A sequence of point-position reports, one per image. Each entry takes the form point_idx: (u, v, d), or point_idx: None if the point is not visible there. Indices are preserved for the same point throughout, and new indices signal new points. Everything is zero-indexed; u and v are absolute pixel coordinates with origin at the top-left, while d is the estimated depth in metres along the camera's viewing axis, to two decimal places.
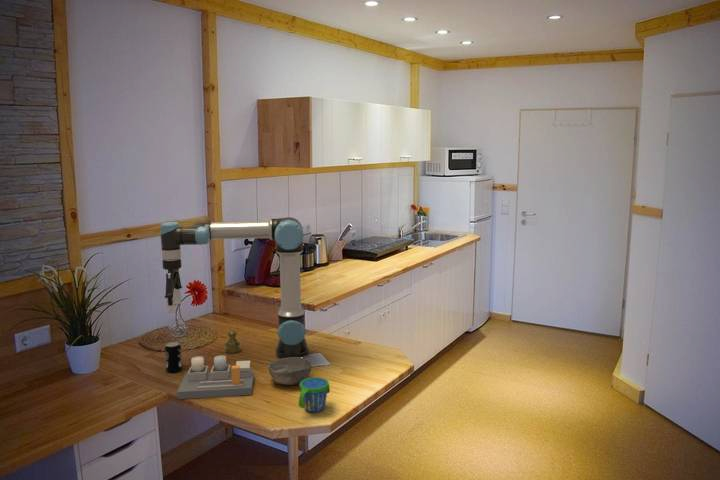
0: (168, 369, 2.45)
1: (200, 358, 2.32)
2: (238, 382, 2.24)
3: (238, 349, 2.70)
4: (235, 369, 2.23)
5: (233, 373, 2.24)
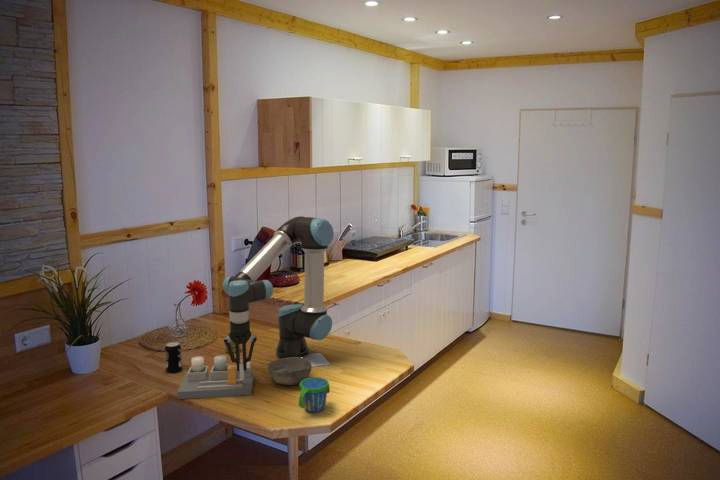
0: (168, 369, 2.45)
1: (200, 358, 2.32)
2: (234, 382, 2.24)
3: None
4: (231, 369, 2.23)
5: (229, 373, 2.23)
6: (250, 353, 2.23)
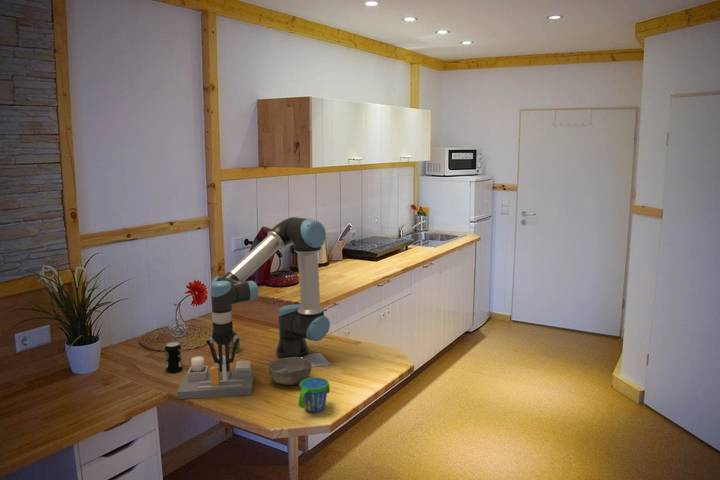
0: (168, 369, 2.45)
1: (200, 358, 2.32)
2: (217, 383, 2.23)
3: (238, 349, 2.70)
4: (214, 370, 2.22)
5: (212, 374, 2.23)
6: (233, 354, 2.23)
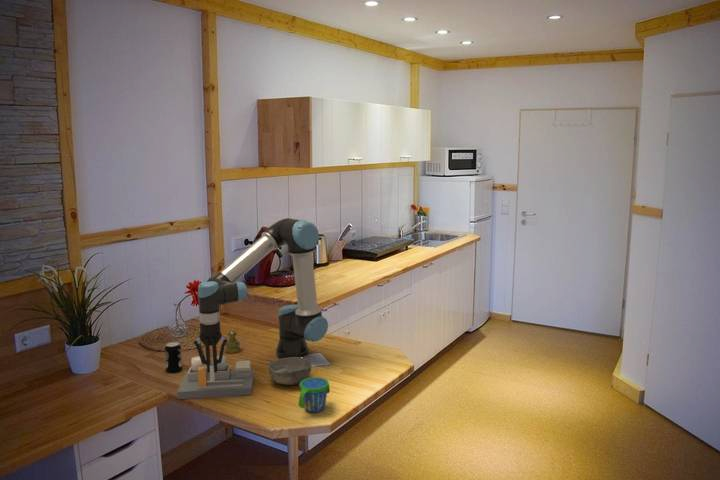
0: (168, 369, 2.45)
1: None
2: (204, 384, 2.23)
3: (238, 349, 2.70)
4: (201, 370, 2.22)
5: (199, 375, 2.22)
6: (220, 355, 2.22)
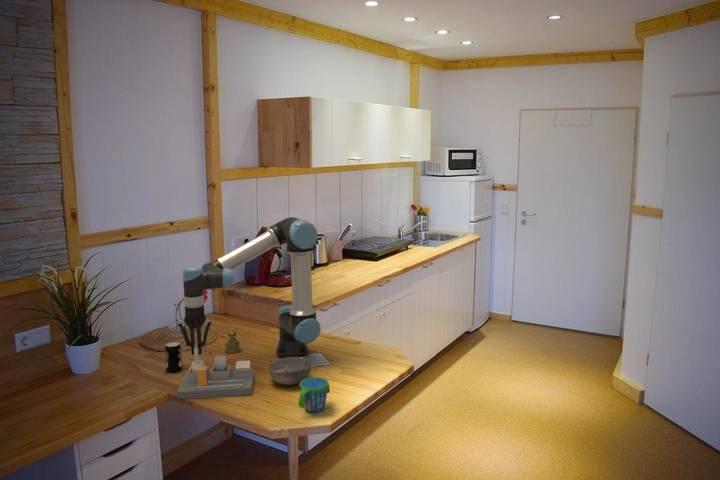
0: (168, 369, 2.45)
1: (200, 362, 2.32)
2: (204, 384, 2.23)
3: (238, 349, 2.70)
4: (201, 370, 2.22)
5: (199, 375, 2.22)
6: (204, 337, 2.29)
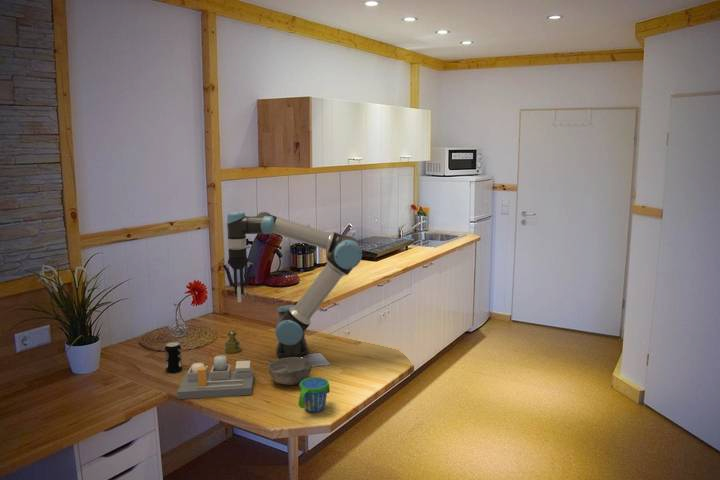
0: (168, 369, 2.45)
1: (200, 364, 2.32)
2: (204, 384, 2.23)
3: (238, 349, 2.70)
4: (201, 370, 2.22)
5: (199, 375, 2.22)
6: (247, 278, 2.46)
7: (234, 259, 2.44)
